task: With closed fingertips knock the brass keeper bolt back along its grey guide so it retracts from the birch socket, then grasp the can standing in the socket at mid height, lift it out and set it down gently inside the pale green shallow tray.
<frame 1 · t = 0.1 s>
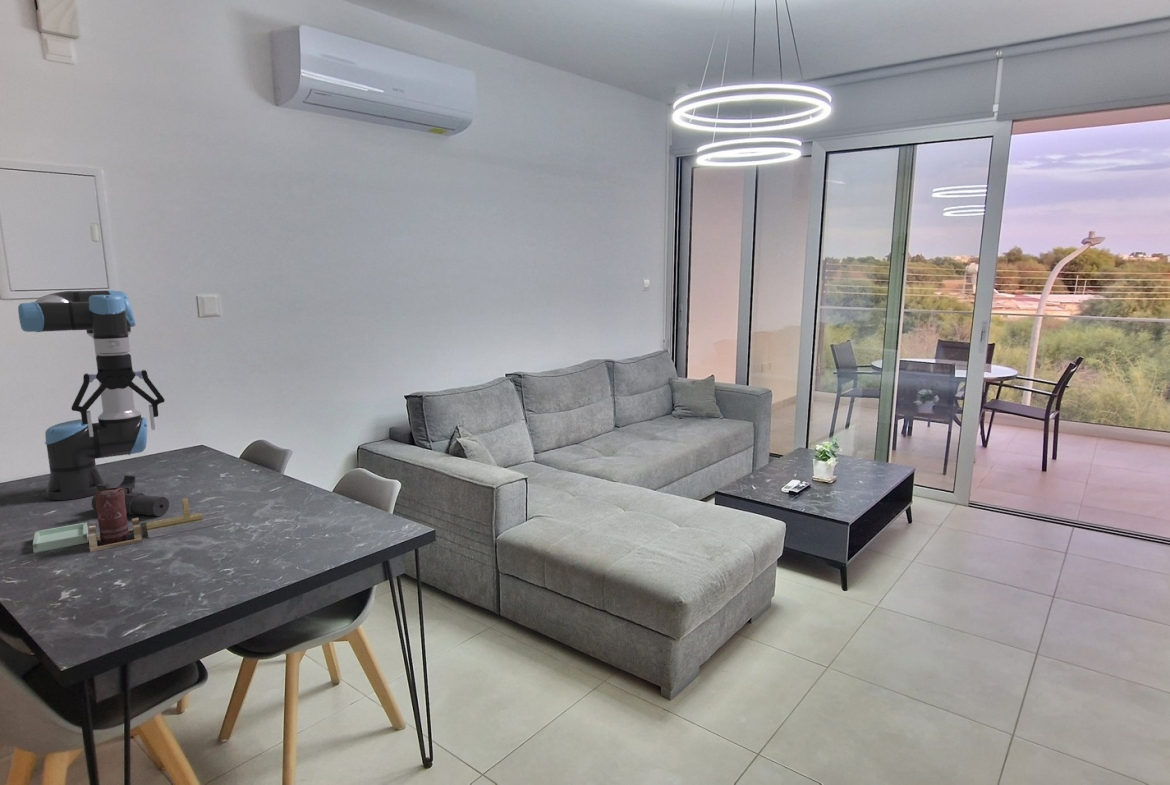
hand: (123, 432, 175), 28 cm above the table, fingers open, 13 cm apart
laser sight: (130, 514, 193), on the table
keeper bolt: (169, 516, 179), point 4 cm above the table, slide at 0.0 cm
pale green shallow tray: (62, 540, 173), on the table
can: (116, 541, 173), resting in socket
socket: (116, 540, 173), on the table
keeper guide: (186, 527, 182), on the table
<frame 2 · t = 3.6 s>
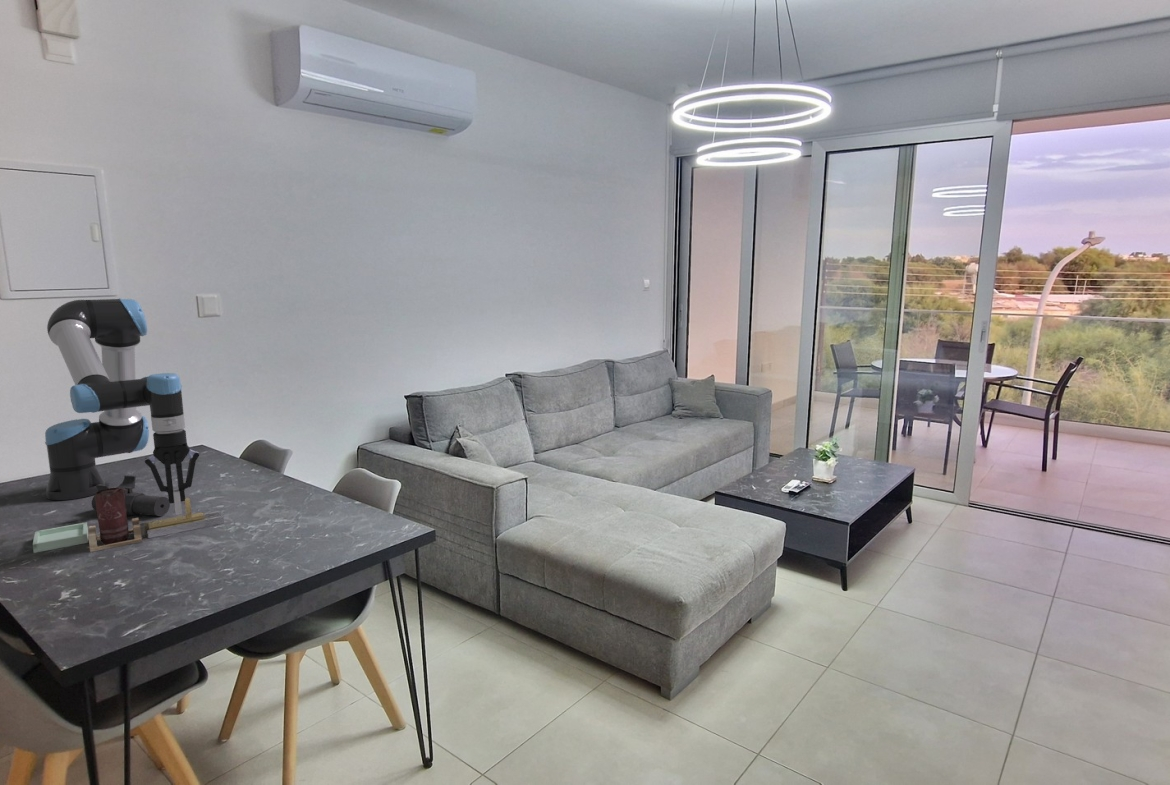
hand: (178, 513, 181), 4 cm above the table, fingers closed
keeper bolt: (171, 516, 180), point 4 cm above the table, slide at 0.5 cm, touching gripper
everything else where it was.
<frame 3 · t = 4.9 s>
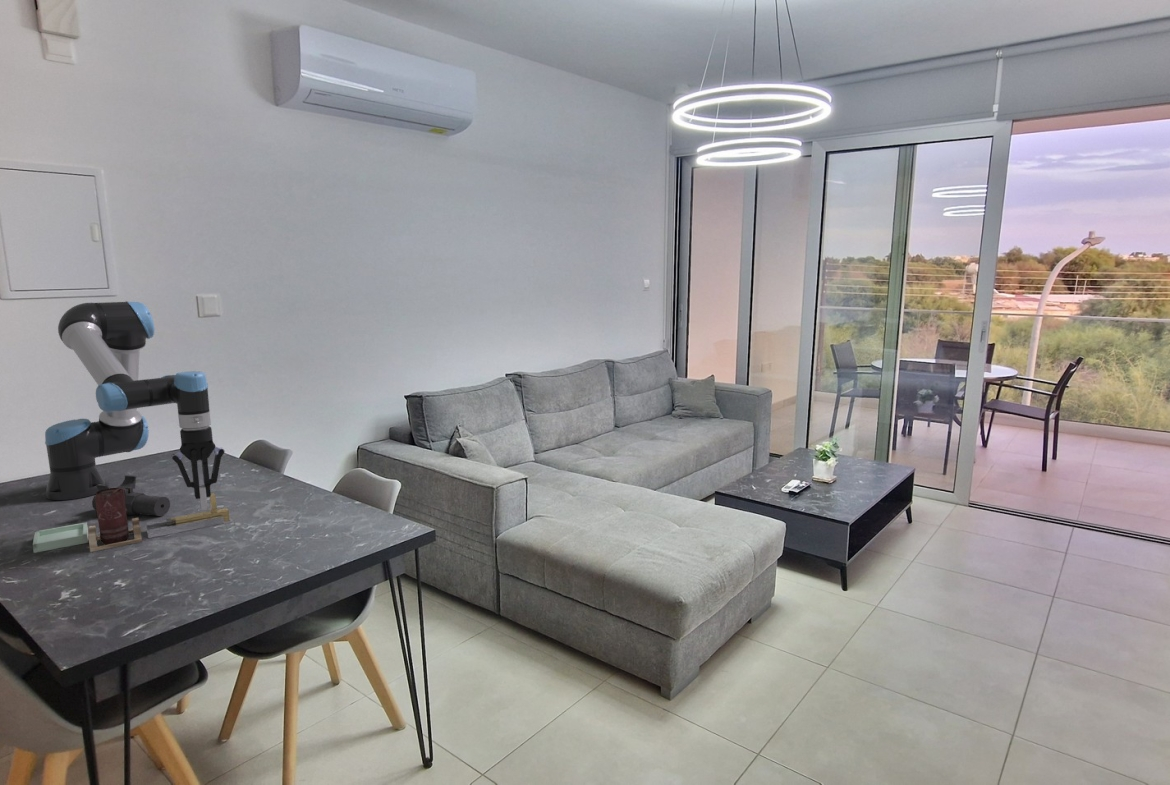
hand: (204, 508, 184), 4 cm above the table, fingers closed
keeper bolt: (197, 511, 183), point 4 cm above the table, slide at 6.7 cm, touching gripper
everything else where it was.
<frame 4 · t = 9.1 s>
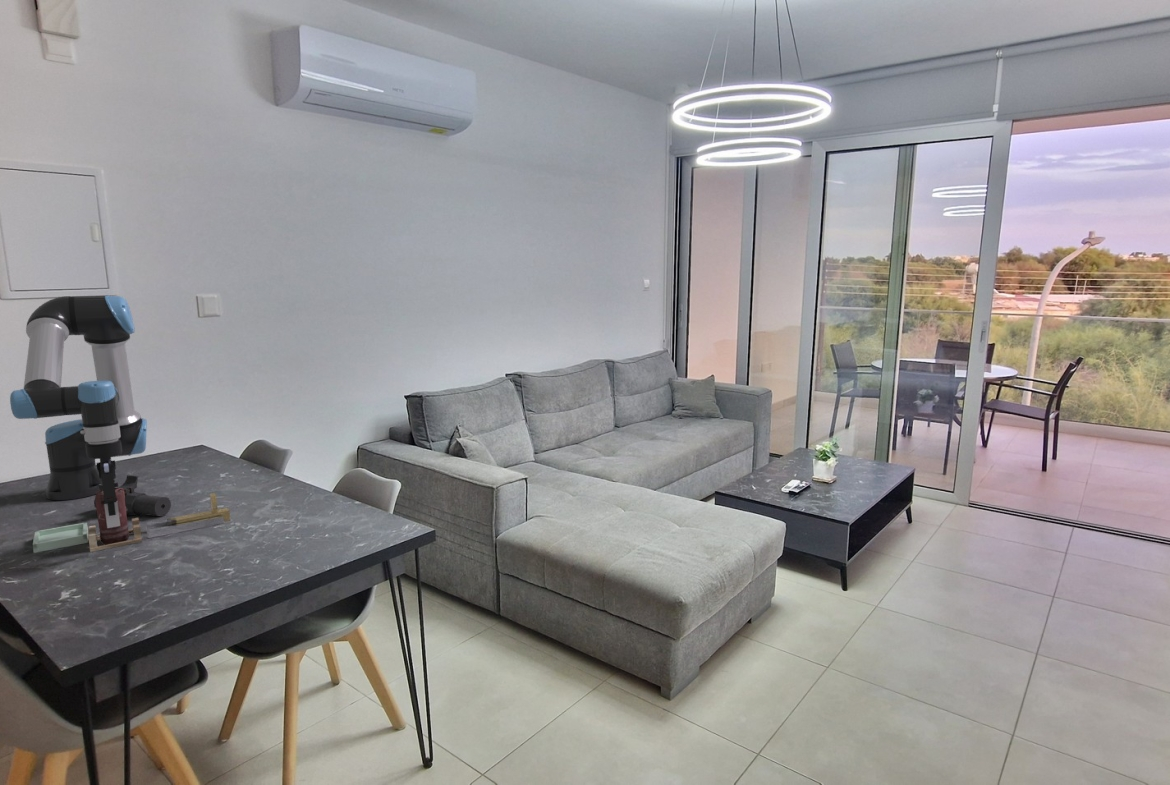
hand: (113, 519, 172), 6 cm above the table, fingers open, 13 cm apart
keeper bolt: (198, 511, 184), point 4 cm above the table, slide at 6.8 cm
everything else where it was.
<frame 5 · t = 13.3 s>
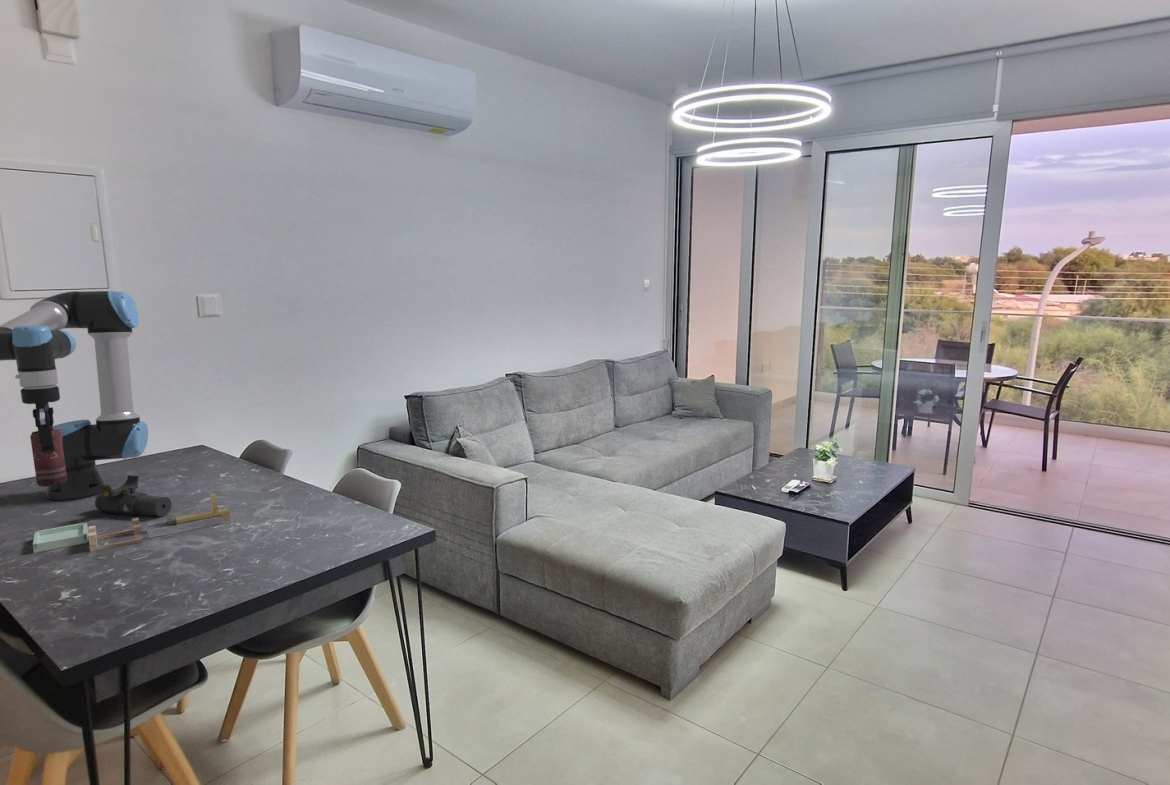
hand: (52, 475, 169), 18 cm above the table, fingers closed
can: (53, 484, 169), point 16 cm above the table, touching hand
everything else where it was.
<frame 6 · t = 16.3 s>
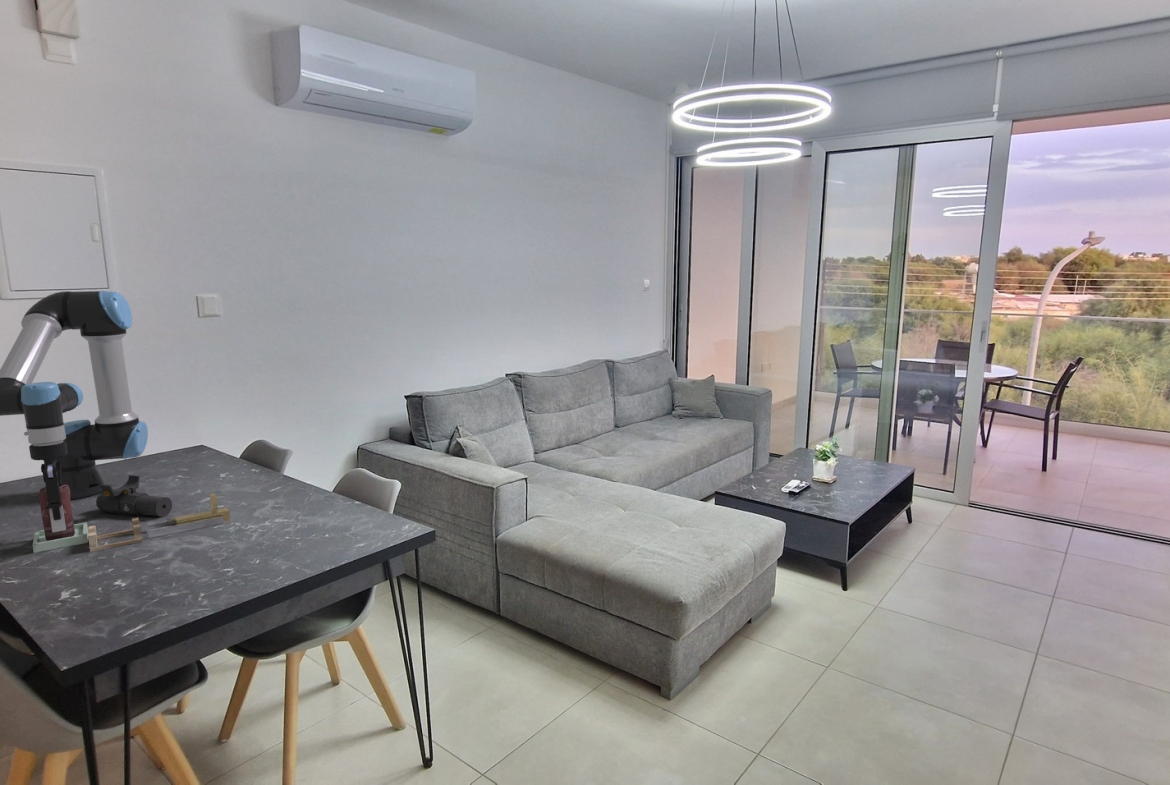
hand: (59, 525, 172), 4 cm above the table, fingers open, 8 cm apart
can: (61, 538, 172), point 1 cm above the table, touching pale green shallow tray
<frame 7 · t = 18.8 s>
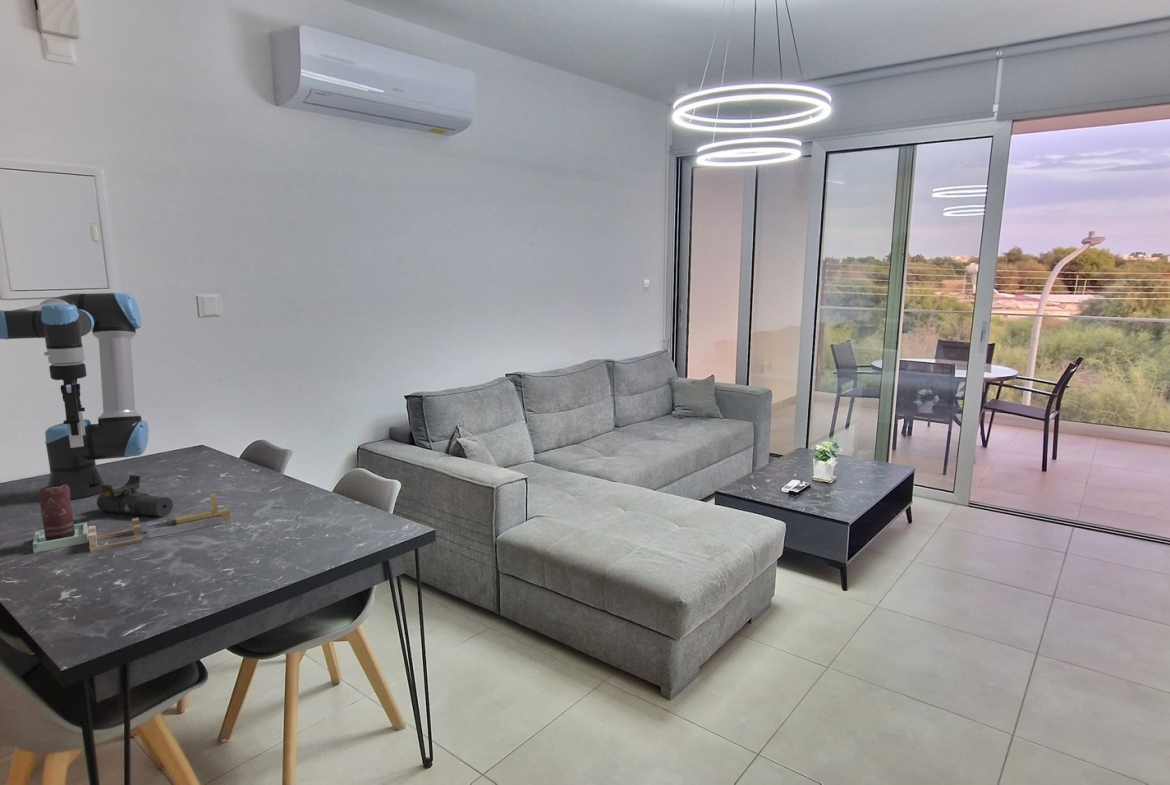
hand: (78, 441, 176), 25 cm above the table, fingers open, 13 cm apart
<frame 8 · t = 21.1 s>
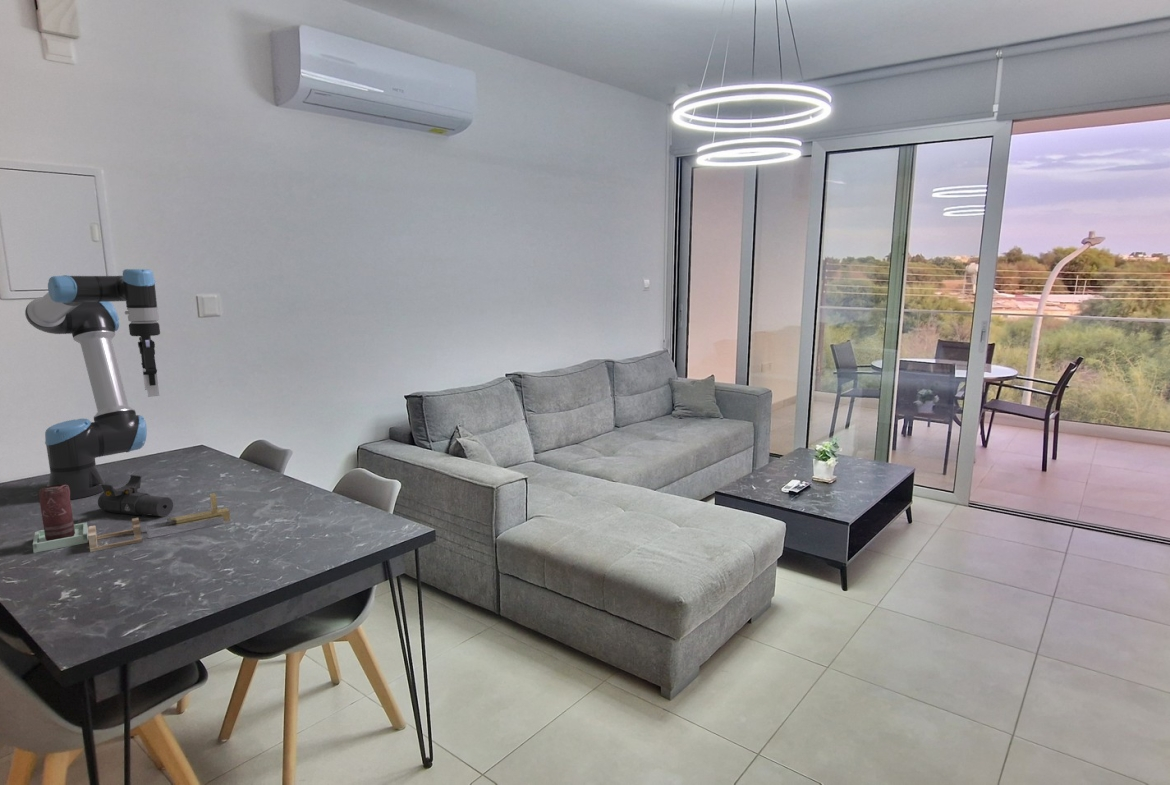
hand: (152, 393, 196), 35 cm above the table, fingers open, 13 cm apart
at the end: keeper bolt slide at 6.8 cm; can inside the target area on the pale green shallow tray (0.5 cm from its centre), point 0.8 cm above the pale green shallow tray's base; can tilted 0° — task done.
